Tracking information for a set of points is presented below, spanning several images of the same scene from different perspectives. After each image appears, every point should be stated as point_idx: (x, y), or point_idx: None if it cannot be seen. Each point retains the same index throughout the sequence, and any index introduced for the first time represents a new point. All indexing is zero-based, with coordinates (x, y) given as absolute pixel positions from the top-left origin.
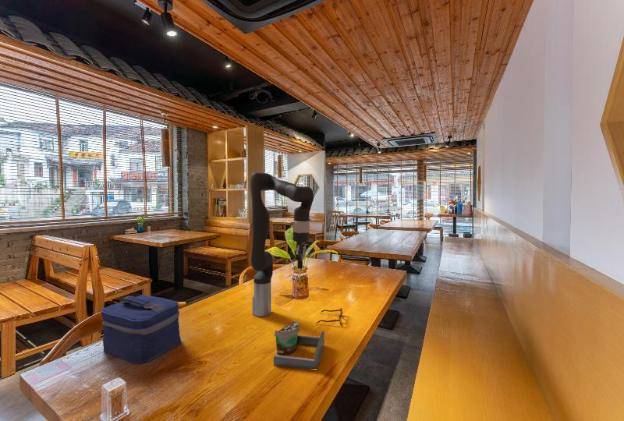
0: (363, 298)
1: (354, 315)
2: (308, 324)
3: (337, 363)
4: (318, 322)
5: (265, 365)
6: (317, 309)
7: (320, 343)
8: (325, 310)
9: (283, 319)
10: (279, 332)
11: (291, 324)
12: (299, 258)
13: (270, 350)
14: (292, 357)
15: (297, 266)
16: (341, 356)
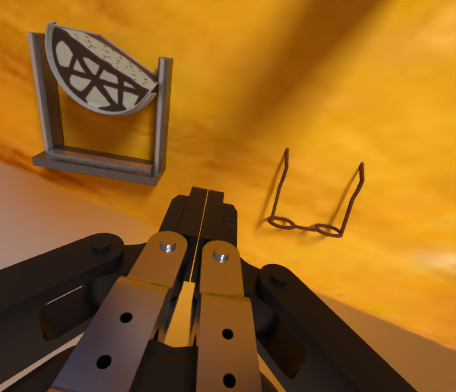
0: (441, 290)
1: (328, 253)
2: (284, 127)
3: (96, 193)
4: (285, 160)
5: (33, 5)
6: (396, 157)
7: (88, 173)
8: (358, 186)
9: (334, 27)
10: (47, 43)
11: (129, 85)
12: (81, 290)
13: (112, 7)
14: (36, 93)
15: (190, 194)
16: (124, 203)
